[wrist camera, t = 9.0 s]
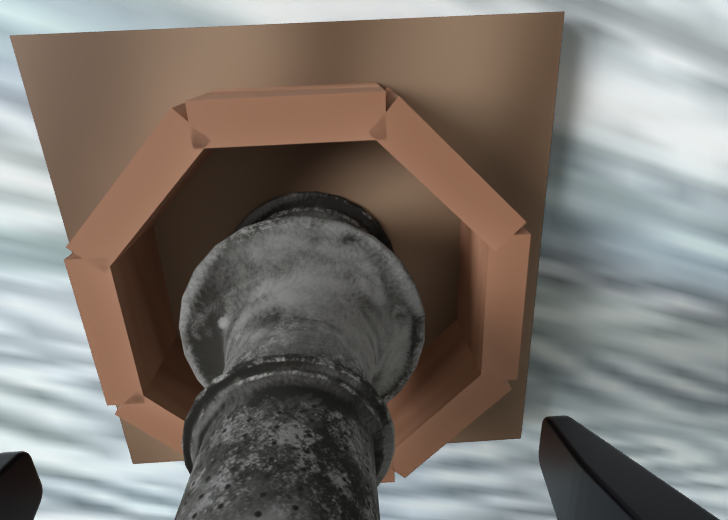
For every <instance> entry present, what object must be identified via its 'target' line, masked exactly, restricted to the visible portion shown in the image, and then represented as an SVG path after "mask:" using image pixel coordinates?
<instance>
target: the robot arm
mask: <svg viewBox="0 0 728 520" xmlns="http://www.w3.org/2000/svg"><path fill="white" fill-rule="evenodd" d="M539 462H540V467H541V470H542V473H543V476H544V479H545V482H546V485H547V488H548V491H549V495H550V498H551V501H552V504H553V507H554V510H555V513H556V516H557V519H558V520H719V519H718V518H717V517H715V516H714V515H712V514H711V513H709V512H708V511H706V510H705V509H703V508H702V507H701V506H699V505H698V504H696V503H695V502H693V501H692V500H690V499H689V498H687V497H686V496H684V495H683V494H682V493H680V492H679V491H677V490H676V489H674V488H673V487H671V486H670V485H668V484H667V483H665V482H664V481H663V480H661V479H660V478H658V477H657V476H655V475H654V474H652V473H651V472H649V471H648V470H647V469H645V468H644V467H642V466H641V465H639V464H638V463H636V462H635V461H633V460H632V459H630V458H629V457H628V456H626V455H625V454H623V453H622V452H620V451H619V450H617V449H616V448H614V447H613V446H612V445H610V444H609V443H607V442H606V441H604V440H603V439H601V438H600V437H598V436H597V435H595V434H594V433H593V432H591V431H590V430H588V429H587V428H585V427H584V426H582V425H581V424H579V423H578V422H576V421H575V420H574V419H572V418H570V417H569V416H549V417H546V418H544V420H543V422H542V428H541V437H540V445H539ZM42 492H43V490H42V484H41V481H40V479H39V476H38V474H37V471H36V468H35V466H34V463H33V461H32V458H31V456H30V455H29V454H28V453H27V452H24V451H18V452H4V453H0V520H34V517H35V515H36V512H37V510H38V507H39V505H40V502H41V499H42Z"/></svg>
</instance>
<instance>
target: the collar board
mask: <svg viewBox="0 0 728 520" xmlns="http://www.w3.org/2000/svg"><path fill="white" fill-rule="evenodd" d="M563 21H564V12H542V13H519V14H496V15H473V16H450V17H427V18H404V19H381V20H358V21H335V22H311V23H288V24H265V25H242V26H219V27H196V28H173V29H150V30H127V31H104V32H81V33H58V34H35V35H12V36H10V39H11V42H12V46H13V49H14V53H15V56H16V59H17V63H18V66H19V70H20V73H21V77H22V80H23V84H24V87H25V91H26V94H27V98H28V101H29V105H30V108H31V112H32V115H33V119H34V122H35V125H36V129H37V132H38V136H39V139H40V143H41V146H42V150H43V153H44V157H45V160H46V164H47V167H48V171H49V174H50V178H51V181H52V185H53V188H54V191H55V195H56V198H57V202H58V205H59V209H60V212H61V216H62V219H63V223H64V226H65V230H66V233H67V237H68V240H69V244H68V245H67V247H66V248H68V249H69V250H71V251H72V254H71V255H70V256H68V257H67V258H66V259H64V261H65V265H66V268H67V272H68V275H69V278H70V282H71V285H72V288H73V292H74V295H75V299H76V302H77V305H78V309H79V312H80V315H81V319H82V322H83V326H84V329H85V332H86V336H87V339H88V342H89V346H90V349H91V353H92V356H93V359H94V363H95V366H96V369H97V373H98V376H99V380H100V383H101V386H102V390H103V393H104V396H105V400H106V403H107V405H116V407H117V411H116V413H115V415H117V416H118V417H120V421H121V424H122V428H123V431H124V435H125V438H126V442H127V445H128V449H129V452H130V455H131V459H132V462H133V464H141V463H156V462H171V461H184V456H183V451H182V446H181V442H182V435H183V428H184V421H185V419H186V417H187V415H188V413H189V411H190V409H191V407H192V405H193V403H194V401H195V399H196V397H197V396H198V395H199V394H200V393H201V392H202V391H203V390H204V389H205V388H204V387H203V385H202V384H201V383H200V382H199V381H198V380H197V378H196V376H195V374H194V372H193V370H192V368H191V366H190V365H189V363H188V361H187V359H186V357H185V355H184V350H183V345H182V340H181V335H180V330H179V321H180V312H181V303H182V297H183V295H184V292H185V290H186V288H187V285H188V283H189V281H190V279H191V276H192V274H193V272H194V270H195V268H196V267H197V266H198V265H199V264H200V263H201V262H202V260H203V259H204V258H205V257H206V256H207V255H208V254H209V252H210V251H211V250H212V249H213V248H214V247H215V245H217V244H218V243H220V242H221V241H223V240H224V239H226V238H228V237H229V236H231V235H232V234H233V233H234V231H235V229H236V228H237V227H238V226H239V224H240V223H241V222H242V221H243V220H244V219H245V218H246V216H247V215H248V214H249V213H250V212H251V211H253V210H254V209H256V208H257V207H259V206H261V205H262V204H264V203H265V202H267V201H268V200H270V199H273V198H276V197H279V196H282V195H286V194H289V193H292V192H310V191H318V192H323V193H328V194H332V195H337V196H341V197H343V198H345V199H347V200H349V201H351V202H353V203H355V204H357V205H359V206H361V207H362V208H363V209H364V210H366V211H367V212H368V213H369V214H370V215H371V216H372V217H373V218H375V219H376V220H377V221H378V222H379V224H380V225H381V227H382V228H383V230H384V231H385V233H386V234H387V236H388V237H389V239H390V240H391V244H392V247H393V250H394V253H395V255H397V256H398V257H399V258H400V260H401V261H402V263H403V264H404V266H405V267H406V269H407V270H408V272H409V273H410V275H411V277H412V278H413V280H414V281H415V283H416V285H417V288H418V292H419V295H420V298H421V302H422V305H423V308H424V312H425V341H424V344H423V348H422V351H421V354H420V357H419V361H418V364H417V367H416V369H415V370H414V372H413V373H412V375H411V376H410V378H409V379H408V381H407V383H406V384H405V386H404V387H403V389H402V390H401V391H400V392H399V393H398V394H397V395H396V396H395V397H394V398H392V399H391V400H390V401H389V402H388V403H387V407H388V410H389V412H390V415H391V418H392V421H393V424H394V429H395V452H394V455H393V458H392V461H391V464H390V467H389V470H388V473H387V474H386V475H385V477H384V478H383V480H382V481H381V483H386V482H395V477H394V471H395V472H397V473H398V474H400V475H401V476H403V477H404V478H405V477H407V476H408V475H409V474H410V473H411V472H413V471H414V470H415V469H416V468H417V467H419V466H420V465H421V464H422V463H424V462H425V461H426V460H427V459H428V458H430V457H431V456H432V455H433V454H434V453H436V452H437V451H438V450H439V449H440V448H442V447H443V446H444V445H445V444H446V443H459V442H474V441H489V440H504V439H520V438H521V432H522V422H523V412H524V403H525V393H526V383H527V373H528V364H529V354H530V344H531V334H532V324H533V315H534V305H535V295H536V285H537V275H538V266H539V256H540V246H541V236H542V227H543V217H544V207H545V197H546V187H547V178H548V168H549V158H550V148H551V138H552V129H553V119H554V109H555V99H556V90H557V80H558V70H559V60H560V50H561V41H562V31H563Z"/></svg>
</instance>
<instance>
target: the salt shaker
mask: <svg viewBox="0 0 728 520" xmlns="http://www.w3.org/2000/svg"><path fill="white" fill-rule="evenodd" d="M179 330H180V335H181V340H182V345H183V350H184V355H185V357H186V359H187V361H188V363H189V365H190V366H191V368H192V370H193V372H194V374H195V376H196V378H197V380H198V381H199V382H200V383H201V384H202V385H203V387H204V388H205V389H204V390H203V391H202V392H201V393H200V394H199V395H198V396H197V397H196V399H195V401H194V403H193V405H192V407H191V409H190V411H189V413H188V415H187V417H186V419H185V421H184V428H183V435H182V442H181V446H182V451H183V456H184V461H185V466H186V468H187V469H188V471H189V473H190V478H189V480H188V483H187V486H186V489H185V492H184V494H183V497H182V500H181V503H180V506H179V508H178V511H177V514H176V517H175V520H380V513H379V502H378V491H377V487H378V486H379V484H380V483H381V481H382V480H383V478H384V477H385V475H386V474H387V473H388V470H389V467H390V464H391V461H392V458H393V455H394V452H395V429H394V424H393V421H392V418H391V415H390V412H389V410H388V407H387V403H388V402H389V401H390V400H391V399H392V398H394V397H395V396H396V395H397V394H398V393H399V392H400V391H401V390H402V389H403V387H404V386H405V384H406V383H407V381H408V379H409V378H410V376H411V375H412V373H413V372H414V370H415V369H416V367H417V364H418V361H419V357H420V354H421V351H422V348H423V344H424V341H425V312H424V308H423V305H422V302H421V298H420V295H419V292H418V288H417V285H416V283H415V281H414V280H413V278H412V277H411V275H410V273H409V272H408V270H407V269H406V267H405V266H404V264H403V263H402V261H401V260H400V258H399V257H398V256H397V255H395V253H394V250H393V247H392V244H391V240H390V239H389V237H388V236H387V234H386V233H385V231H384V230H383V228H382V227H381V225H380V224H379V222H378V221H377V220H376V219H375V218H373V217H372V216H371V215H370V214H369V213H368V212H367V211H366V210H364V209H363V208H362V207H361V206H359V205H357V204H355V203H353V202H351V201H349V200H347V199H345V198H343V197H341V196H337V195H332V194H328V193H323V192H318V191H310V192H292V193H289V194H286V195H282V196H279V197H276V198H273V199H270V200H268V201H267V202H265V203H264V204H262V205H261V206H259V207H257V208H256V209H254V210H253V211H251V212H250V213H249V214H248V215H247V216H246V218H245V219H244V220H243V221H242V222H241V223H240V224H239V226H238V227H237V228H236V229H235V231H234V233H233V234H232V235H231V236H229V237H228V238H226V239H224V240H223V241H221V242H220V243H218V244H217V245H215V247H214V248H213V249H212V250H211V251H210V252H209V254H208V255H207V256H206V257H205V258H204V259H203V260H202V262H201V263H200V264H199V265H198V266H197V267H196V268H195V270H194V272H193V274H192V276H191V279H190V281H189V283H188V285H187V288H186V290H185V292H184V295H183V297H182V303H181V312H180V321H179Z"/></svg>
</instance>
